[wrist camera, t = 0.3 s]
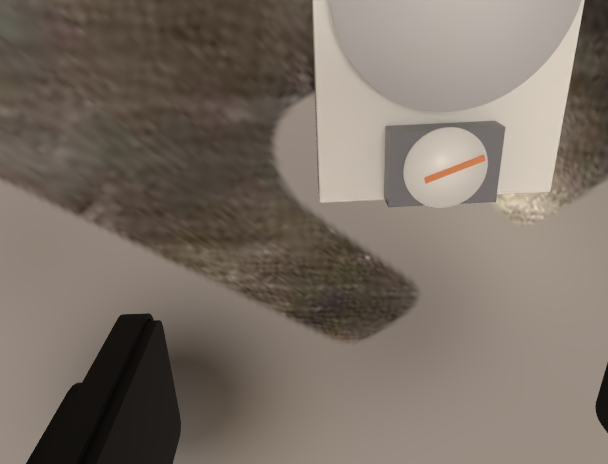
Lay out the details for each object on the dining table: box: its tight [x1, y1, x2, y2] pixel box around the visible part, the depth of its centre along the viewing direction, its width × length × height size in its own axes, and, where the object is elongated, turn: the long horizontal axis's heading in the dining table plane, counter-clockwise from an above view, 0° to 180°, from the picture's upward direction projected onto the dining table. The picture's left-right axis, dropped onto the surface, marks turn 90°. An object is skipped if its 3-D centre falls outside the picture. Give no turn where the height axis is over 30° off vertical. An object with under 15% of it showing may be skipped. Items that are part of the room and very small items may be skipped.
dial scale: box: [312, 0, 584, 208], centre depth 34 cm, size 24×18×5 cm
